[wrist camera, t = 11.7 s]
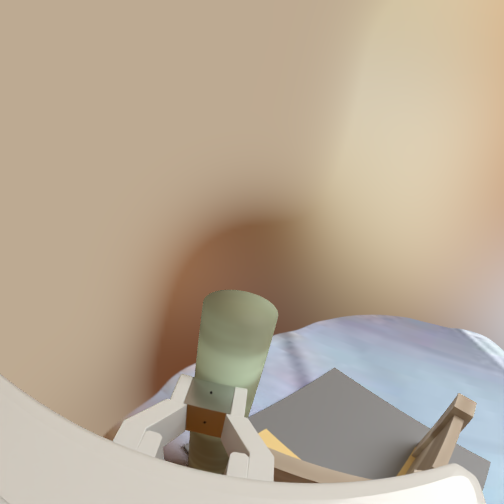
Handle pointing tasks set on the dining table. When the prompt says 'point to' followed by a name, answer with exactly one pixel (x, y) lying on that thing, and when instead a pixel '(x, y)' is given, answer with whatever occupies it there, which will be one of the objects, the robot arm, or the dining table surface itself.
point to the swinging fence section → (243, 378)
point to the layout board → (349, 431)
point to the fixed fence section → (443, 436)
